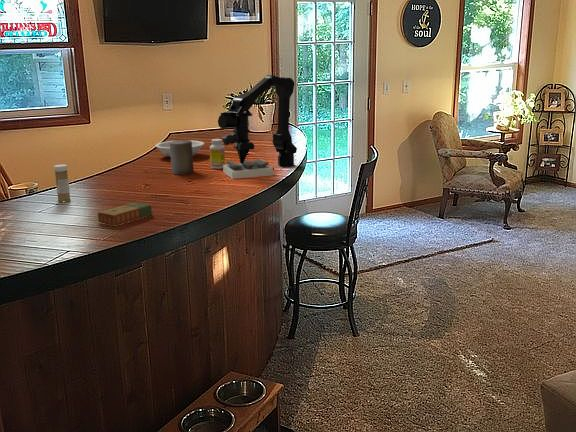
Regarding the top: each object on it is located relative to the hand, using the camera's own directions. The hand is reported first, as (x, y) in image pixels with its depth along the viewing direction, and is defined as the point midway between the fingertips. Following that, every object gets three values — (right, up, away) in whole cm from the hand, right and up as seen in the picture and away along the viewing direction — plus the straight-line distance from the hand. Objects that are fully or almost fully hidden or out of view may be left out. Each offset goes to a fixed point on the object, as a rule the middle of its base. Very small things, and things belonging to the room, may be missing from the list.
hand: (241, 163), depth 274 cm
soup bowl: (-34, +6, +43) cm, 55 cm away
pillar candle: (-27, -4, +7) cm, 28 cm away
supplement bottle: (-12, -1, +16) cm, 20 cm away
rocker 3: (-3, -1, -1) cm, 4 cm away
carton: (-33, -24, -65) cm, 77 cm away
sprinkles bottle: (-63, -17, -40) cm, 76 cm away
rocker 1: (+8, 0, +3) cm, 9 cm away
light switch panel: (+4, -4, +3) cm, 6 cm away
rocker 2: (+2, 0, +1) cm, 3 cm away
